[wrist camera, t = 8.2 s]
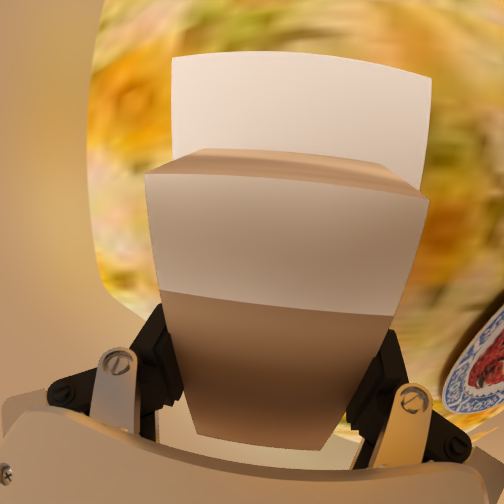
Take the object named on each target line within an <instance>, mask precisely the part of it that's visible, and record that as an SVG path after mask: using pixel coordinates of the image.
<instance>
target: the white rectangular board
mask: <svg viewBox="0 0 504 504" xmlns="http://www.w3.org/2000/svg"><path fill="white" fill-rule="evenodd" d="M431 86H432V79H431V78H428V77H425V76H422V75H419V74H415V73H412V72H408V71H405V70H401V69H397V68H393V67H389V66H385V65H381V64H376V63H371V62H366V61H361V60H355V59H349V58H343V57H336V56H328V55H320V54H309V53H297V52H275V51H243V52H221V53H208V54H198V55H190V56H182V57H175V58H172V87H171V111H172V151H173V161H174V160H176V159H178V158H180V157H183V156H185V155H188V154H190V153H193V152H195V151H197V150H200V149H202V148H226V149H253V150H270V151H284V152H296V153H306V154H316V155H325V156H333V157H340V158H348V159H354V160H361V161H367V162H373V163H379V164H382V165H383V166H385V167H386V168H388V169H389V170H390V171H392V172H393V173H395V174H396V175H398V176H399V177H400V178H402V179H403V180H405V181H406V182H407V183H409V184H410V185H411V186H413V187H414V188H415V189H417V190H418V191H419V189H420V184H421V178H422V173H423V167H424V160H425V154H426V146H427V138H428V129H429V119H430V106H431Z"/></svg>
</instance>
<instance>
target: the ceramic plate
mask: <svg viewBox="0 0 504 504" xmlns="http://www.w3.org/2000/svg"><path fill="white" fill-rule="evenodd" d="M442 402H443V405H444V407H445V408H446V409H447V410H448V411H450V412H452V413H456V414H471V413H476V412H481V411H484V410H487V409H490V408H492V407H494V406H497V405H499V404H501V403H503V402H504V305H503V306H502V307H501V308H500V309H499V310H498V311H497V312H496V313H495V314H494V315H493V316H492V317H491V318H490V320H489V321H488V322H487V323H486V324H485V325H484V327H483V328H482V329H481V330H480V331H479V332H478V333H477V334H476V336H475V337H474V338H473V339H472V341H471V342H470V343H469V345H468V346H467V347H466V349H465V350H464V351H463V353H462V354H461V355H460V357H459V358H458V360H457V361H456V363H455V364H454V366H453V367H452V369H451V371H450V373H449V375H448V377H447V379H446V381H445V384H444V387H443V391H442Z"/></svg>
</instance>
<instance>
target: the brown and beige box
mask: <svg viewBox="0 0 504 504" xmlns="http://www.w3.org/2000/svg"><path fill="white" fill-rule="evenodd" d="M144 183H145V194H146V204H147V212H148V221H149V229H150V236H151V243H152V250H153V256H154V263H155V269H156V275H157V280H158V286H159V291H160V296H161V301H162V306H163V311H164V316H165V320H166V325H167V329H168V333H170V334H171V339H172V343H173V347H174V351H175V355H176V359H177V363H178V367H179V371H180V374H181V378H182V382H183V385H184V390H183V391H184V394H185V398H186V400H187V404H188V407H189V410H190V414H191V416H192V420H193V423H194V425H195V429H196V432H197V434H199V435H203V436H207V437H212V438H217V439H222V440H227V441H232V442H238V443H244V444H251V445H258V446H265V447H274V448H284V449H297V450H318V451H320V450H321V449H322V447H323V446H324V444H325V443H326V442H327V440H328V438H329V437H330V436H331V434H332V433H333V431H334V429H335V428H336V426H337V425H338V423H339V422H340V420H341V418H342V417H343V415H344V414H345V412H346V408H347V406H348V404H349V402H350V401H351V399H352V397H353V395H354V393H355V392H356V390H357V388H358V386H359V384H360V382H361V381H362V379H363V377H364V375H365V373H366V371H367V369H368V367H369V365H370V363H371V361H372V359H373V357H376V355H377V353H378V351H379V348H380V346H381V344H382V342H383V340H384V338H385V335H386V333H387V331H388V329H389V326H390V324H391V322H392V319H393V317H394V314H395V312H396V309H397V307H398V304H399V302H400V299H401V297H402V294H403V291H404V288H405V286H406V283H407V280H408V277H409V274H410V271H411V268H412V265H413V262H414V259H415V256H416V252H417V249H418V246H419V242H420V239H421V235H422V232H423V228H424V224H425V220H426V216H427V212H428V208H429V203H430V200H429V199H428V198H427V197H426V196H424V195H423V194H422V193H421V192H419V191H418V190H417V189H415V188H414V187H413V186H411V185H410V184H409V183H407V182H406V181H405V180H403V179H402V178H400V177H399V176H398V175H396V174H395V173H393V172H392V171H390V170H389V169H388V168H386V167H385V166H383V165H382V164H379V163H373V162H367V161H361V160H354V159H348V158H340V157H333V156H325V155H316V154H306V153H296V152H284V151H270V150H253V149H226V148H202V149H200V150H197V151H195V152H193V153H190V154H188V155H185V156H183V157H180V158H178V159H176V160H174V161H171V162H169V163H167V164H164V165H162V166H160V167H158V168H156V169H153V170H151V171H149V172H147V173H145V174H144Z"/></svg>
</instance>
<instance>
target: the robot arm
mask: <svg viewBox="0 0 504 504" xmlns="http://www.w3.org/2000/svg"><path fill="white" fill-rule="evenodd" d="M183 390H184V385H183V382H182V378H181V374H180V371H179V367H178V363H177V359H176V355H175V351H174V347H173V343H172V339H171V334H170V333H168V329H167V325H166V320H165V316H164V311H163V306H162V304H161V303H160V304H158V305H157V306H156V308H155V309H154V311H153V312H152V314H151V315H150V317H149V318H148V320H147V321H146V323H145V325H144V326H143V328H142V329H141V331H140V332H139V334H138V335H137V337H136V339H135V340H134V341H133V343H132V345H131V346H130V348H129V349H128V348H124V347H123V348H122V347H117V348H113V349H110V350H108V351H107V352H105V353H104V354H103V355H102V357H101V358H100V360H99V363H98V367H97V368H94V369H91V370H88V371H85V372H81V373H78V374H75V375H72V376H69V377H65V378H63V379H59V380H57V381H55V382H54V383H53V384H51V386H50V387H49V388H48V391H46V390H45V389H40V390H36V391H33V392H29V393H25V394H21V395H17V396H12V397H10V398H8V399H7V400H6V401H5V402H4V403H3V406H2V427H3V437H4V439H3V441H2V442H1V444H0V504H496V503H497V501H498V499H499V497H500V495H501V493H502V491H503V488H504V464H503V463H502V462H500V461H498V460H497V459H495V458H494V457H492V456H490V455H489V454H487V453H486V452H485V451H483V450H481V449H480V448H479V447H477V446H475V447H474V448H473V447H472V444H471V440H470V438H469V436H468V435H467V434H466V433H465V432H464V431H462V430H461V429H459V428H458V427H457V426H455V425H454V424H452V423H451V422H449V421H448V420H447V419H445V418H444V417H442V416H441V415H440V414H438V413H437V412H435V411H434V410H433V409H432V406H433V399H432V397H431V394H430V393H429V391H428V390H427V389H426V388H425V387H423V386H422V385H419V384H416V383H409V380H408V376H407V372H406V368H405V364H404V361H403V357H402V353H401V350H400V346H399V343H398V339H397V336H396V333H395V331H394V330H389V329H388V331H387V333H386V335H385V338H384V340H383V342H382V344H381V346H380V348H379V351H378V353H377V355H376V357H373V359H372V361H371V363H370V365H369V367H368V369H367V371H366V373H365V375H364V377H363V379H362V381H361V382H360V384H359V386H358V388H357V390H356V392H355V393H354V395H353V397H352V399H351V401H350V402H349V404H348V406H347V408H346V420H347V423H351V430H359V435H360V436H362V437H363V438H362V440H361V443H360V445H359V448H358V450H357V453H356V455H355V457H354V459H353V462H352V464H351V466H350V469H349V470H302V469H301V470H300V469H285V468H275V467H265V466H258V465H251V464H243V463H238V462H232V461H227V460H221V459H217V458H212V457H207V456H203V455H199V454H195V453H191V452H187V451H183V450H179V449H176V448H173V447H169V446H166V445H162V444H160V441H159V417H158V410H159V409H162V408H163V405H168V406H171V407H172V406H173V404H174V401H175V400H177V401H179V399H180V397H181V395H182V393H183Z"/></svg>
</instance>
